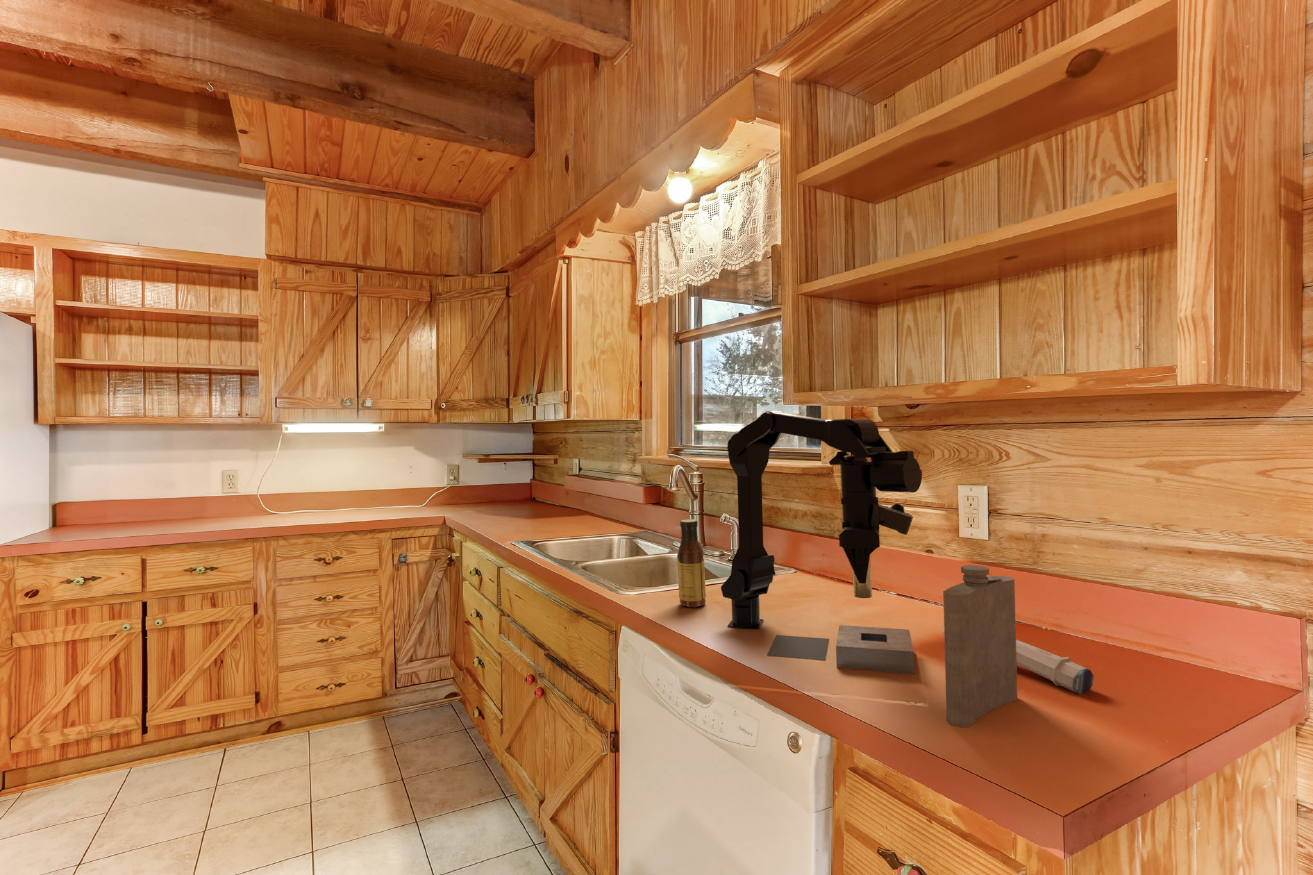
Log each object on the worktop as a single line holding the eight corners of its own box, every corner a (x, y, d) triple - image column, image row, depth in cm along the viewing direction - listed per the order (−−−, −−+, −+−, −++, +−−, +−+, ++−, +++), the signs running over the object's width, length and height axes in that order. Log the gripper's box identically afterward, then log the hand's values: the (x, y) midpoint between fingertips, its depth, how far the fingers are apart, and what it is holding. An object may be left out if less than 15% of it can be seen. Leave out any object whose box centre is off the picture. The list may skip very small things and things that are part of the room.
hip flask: (964, 729, 84) (961, 577, 84) (935, 719, 87) (932, 572, 87) (1021, 697, 94) (1018, 560, 94) (993, 689, 97) (989, 557, 97)
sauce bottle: (692, 600, 154) (690, 517, 154) (711, 604, 149) (709, 519, 149) (672, 605, 149) (670, 520, 149) (692, 610, 145) (689, 522, 145)
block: (839, 646, 118) (839, 624, 118) (909, 652, 114) (909, 629, 114) (836, 669, 106) (836, 645, 106) (914, 676, 102) (913, 651, 102)
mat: (776, 636, 124) (776, 634, 124) (829, 640, 121) (829, 638, 121) (766, 657, 113) (766, 655, 113) (825, 662, 110) (825, 660, 110)
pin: (854, 593, 113) (852, 542, 113) (872, 594, 112) (869, 542, 112) (853, 597, 110) (851, 545, 110) (872, 598, 109) (869, 545, 109)
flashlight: (1075, 671, 93) (938, 607, 116) (1070, 714, 94) (935, 642, 117) (1098, 665, 95) (959, 604, 118) (1093, 707, 96) (956, 638, 119)
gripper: (911, 494, 99) (915, 595, 99) (905, 486, 117) (909, 571, 117) (837, 495, 103) (841, 592, 103) (842, 487, 121) (846, 570, 120)
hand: (862, 581), depth 111 cm, fingers closed on pin, 3 cm apart
